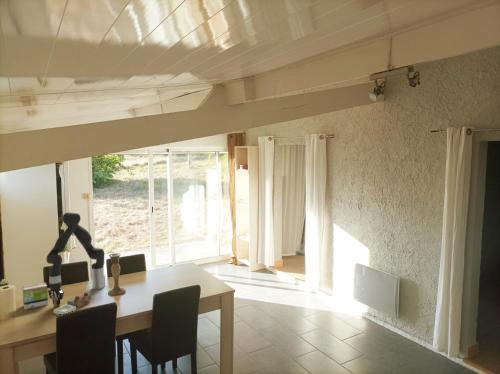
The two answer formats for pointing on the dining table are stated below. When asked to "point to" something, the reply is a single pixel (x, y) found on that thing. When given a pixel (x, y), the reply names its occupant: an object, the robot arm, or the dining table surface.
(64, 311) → the tray
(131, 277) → the dining table surface
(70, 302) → the grey rectangular block
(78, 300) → the block
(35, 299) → the tea box
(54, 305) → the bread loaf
